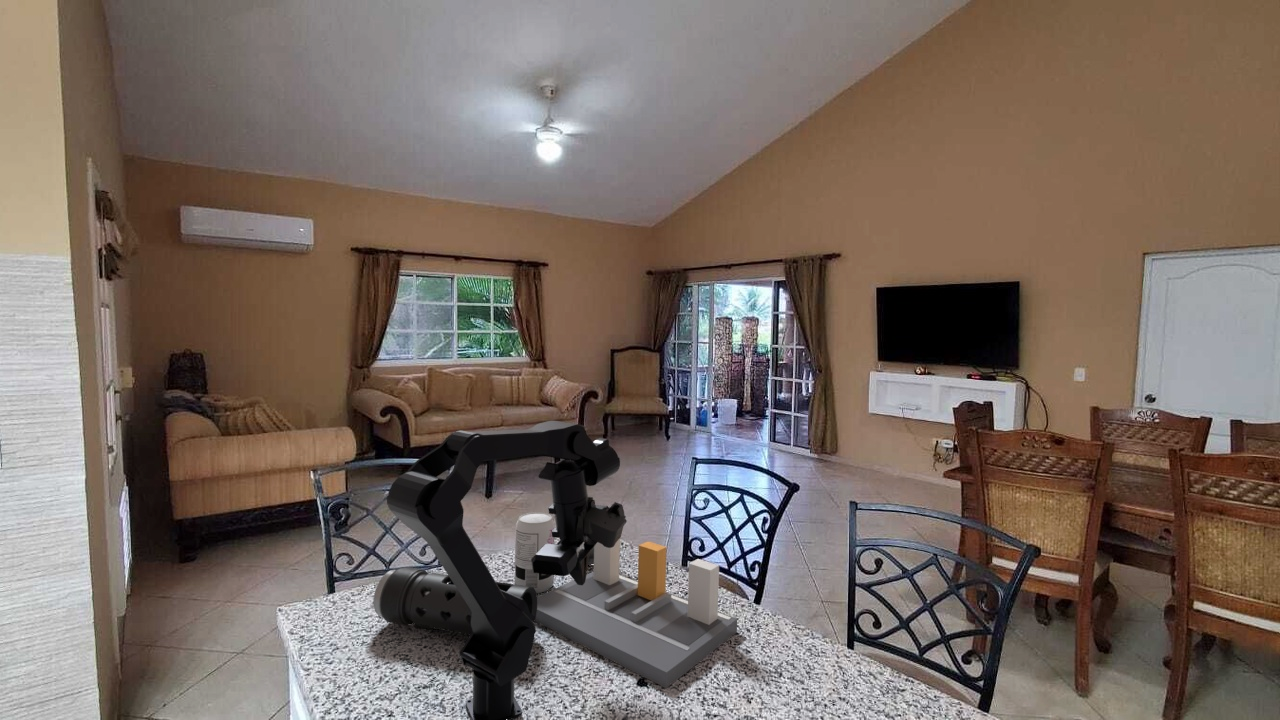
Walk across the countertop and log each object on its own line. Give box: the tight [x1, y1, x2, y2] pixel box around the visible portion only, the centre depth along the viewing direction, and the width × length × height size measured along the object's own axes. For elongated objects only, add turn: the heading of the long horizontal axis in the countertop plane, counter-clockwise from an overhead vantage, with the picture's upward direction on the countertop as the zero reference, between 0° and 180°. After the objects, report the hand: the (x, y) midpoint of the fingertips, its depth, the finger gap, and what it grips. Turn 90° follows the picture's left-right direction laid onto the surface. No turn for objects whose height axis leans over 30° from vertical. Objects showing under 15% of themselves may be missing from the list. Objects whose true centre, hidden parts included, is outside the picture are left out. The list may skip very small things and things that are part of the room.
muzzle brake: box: [372, 566, 538, 636], centre depth 100 cm, size 10×28×10 cm, turn 76°
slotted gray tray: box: [534, 538, 738, 689], centre depth 105 cm, size 22×34×12 cm, turn 51°
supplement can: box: [514, 512, 556, 595], centre depth 119 cm, size 8×8×15 cm
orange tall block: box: [637, 541, 668, 601], centre depth 110 cm, size 3×5×10 cm, turn 51°
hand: (581, 583), depth 94 cm, fingers closed
